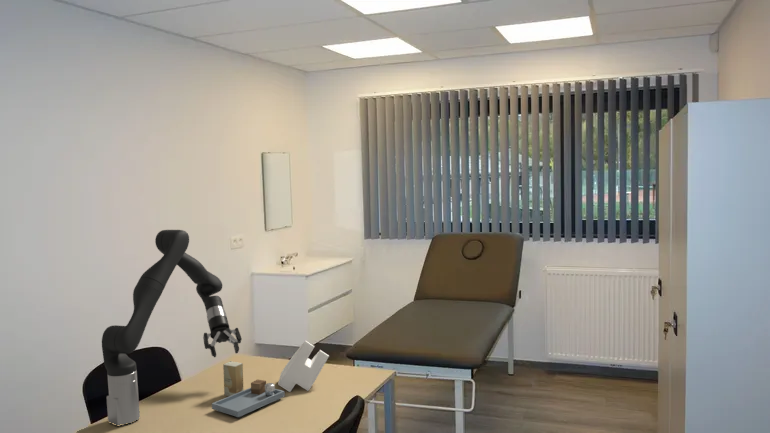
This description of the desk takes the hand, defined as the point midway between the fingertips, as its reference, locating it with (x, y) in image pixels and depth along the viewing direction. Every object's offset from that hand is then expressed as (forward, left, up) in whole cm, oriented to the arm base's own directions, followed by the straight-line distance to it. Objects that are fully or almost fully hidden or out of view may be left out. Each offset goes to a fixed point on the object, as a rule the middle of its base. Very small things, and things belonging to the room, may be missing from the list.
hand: (226, 354), depth 235 cm
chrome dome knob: (0, -24, -12) cm, 27 cm away
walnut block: (0, -18, -12) cm, 22 cm away
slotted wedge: (+18, -24, -14) cm, 33 cm away
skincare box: (-4, -8, -14) cm, 16 cm away
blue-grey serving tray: (-8, -21, -13) cm, 26 cm away
